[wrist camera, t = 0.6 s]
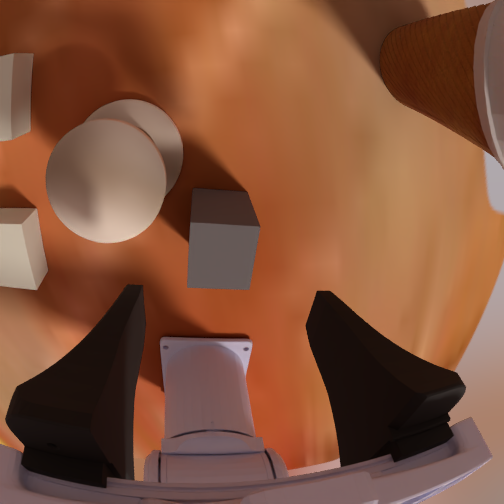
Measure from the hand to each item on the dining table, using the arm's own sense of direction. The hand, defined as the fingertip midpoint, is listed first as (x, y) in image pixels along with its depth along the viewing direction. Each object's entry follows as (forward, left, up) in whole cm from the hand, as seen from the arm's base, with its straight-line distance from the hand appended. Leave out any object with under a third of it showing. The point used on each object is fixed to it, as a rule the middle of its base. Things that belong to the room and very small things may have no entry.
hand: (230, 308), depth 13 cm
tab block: (0, 0, -9) cm, 9 cm away
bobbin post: (+4, +6, -9) cm, 12 cm away
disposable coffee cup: (+13, -12, -10) cm, 20 cm away
